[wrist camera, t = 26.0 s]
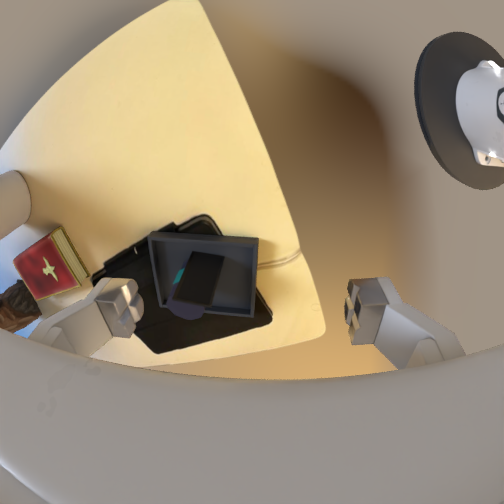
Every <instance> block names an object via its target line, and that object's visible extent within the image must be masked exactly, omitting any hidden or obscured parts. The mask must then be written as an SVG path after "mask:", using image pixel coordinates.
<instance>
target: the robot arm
mask: <svg viewBox="0 0 504 504" xmlns="http://www.w3.org/2000/svg"><path fill="white" fill-rule="evenodd" d="M456 109H457V114H458V119H459V122H460V125H461V127H462V130H463V132H464V134H465V136H466V137H467V139H468V141H469V142H470V144H471V146H472V148H473V152H474V156H475V159H476V162H477V163H478V164H481V165H488V166H498V167H504V68H499V67H498V66H497V65H496V64H495V63H494V62H493V61H489V62H488V61H485V60H482V61H481V62H480V63H479V65H478V66H477V67H476V68H474V69H471V70H468V71H466V72H465V73H464V74H463V75H462V76H461V78H460V80H459V82H458V85H457V90H456ZM485 157H486V159H485ZM347 290H348V293H349V295H348V297H347V298H346V299H345V306H344V314H345V320H346V323H347V324H348V325H349V326H350V327H349V336H350V340H351V344H352V345H363V344H374V346H376V348H377V349H378V350H379V351H380V352H381V353H382V354H384V355H385V357H386V358H387V359H388V360H389V361H390V362H391V363H392V364H393V365H394V366H395V367H396V368H397V369H398V370H395V371H388V372H381V373H373V374H366V375H356V376H347V377H335V378H317V379H287V380H286V379H283V380H282V379H280V380H277V379H274V380H272V379H269V380H268V379H267V380H266V379H237V378H219V377H207V376H196V375H186V374H177V373H170V372H162V371H156V370H150V369H143V368H138V367H132V366H127V365H122V364H117V363H112V362H107V361H103V360H99V359H94V358H90V356H91V355H92V354H93V353H94V352H96V351H97V350H98V349H99V348H100V347H102V346H103V345H104V344H105V343H107V342H108V341H109V340H110V339H111V338H113V336H114V337H122V338H130V337H131V335H132V333H133V332H134V330H135V328H136V325H135V322H137V321H139V320H140V319H141V317H142V315H143V310H144V305H143V300H142V297H141V296H140V295H139V294H138V293H137V291H138V286H137V283H136V281H134V280H133V279H119V278H102V279H101V280H100V281H99V282H98V283H97V285H96V286H95V287H94V288H93V289H92V291H91V292H90V293H89V294H88V295H87V297H86V298H85V299H84V300H80V301H78V302H76V303H74V304H72V305H70V306H69V307H67V308H65V309H63V310H61V311H59V312H58V313H56V314H54V315H52V316H50V317H49V318H47V319H45V320H43V321H41V322H40V323H39V324H38V326H37V327H36V328H35V330H34V331H33V332H32V333H31V335H30V336H29V337H28V339H27V338H24V337H22V336H19V335H16V334H14V333H11V332H9V331H6V330H4V329H1V328H0V504H504V344H502V345H498V346H495V347H492V348H489V349H486V350H483V351H480V352H476V353H473V354H469V355H466V354H465V352H464V350H463V348H462V346H461V345H460V343H459V341H458V339H457V337H456V335H455V333H453V332H452V331H450V330H449V329H447V328H446V327H444V326H443V325H441V324H439V323H438V322H436V321H435V320H433V319H432V318H430V317H428V316H427V315H425V314H424V313H422V312H420V311H419V310H417V309H416V308H414V307H412V306H410V305H409V304H408V303H403V302H402V300H401V298H400V296H399V294H398V292H397V291H396V289H395V287H394V285H393V283H392V282H391V280H390V278H389V277H377V278H366V279H350V280H349V282H348V287H347Z"/></svg>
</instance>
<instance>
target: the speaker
mask: <svg viewBox="0 0 504 504" xmlns="http://www.w3.org/2000/svg"><path fill="white" fill-rule="evenodd" d="M224 259H225V256H220V255H214V254H208V253H202V252H196V251H192V253H191V255H190V257H189V259H188V260H186V261H184V263H183V266H182V268H181V270H179V272H178V274H177V276H176V278H175V280H174V283H173V284H174V285H173V288H172V290H171V292H170V295H169V297H168V300H167V303H166V304H167V307H168V308H169V309H170V310H171V311H172V312H173V313H174V314H175V315H177V316H179V317H182V318H184V319H189V320H193V319H197V318H201V316H202V314H203V313H204V311H205V307H208V308H211V306H212V302H213V299H214V295H215V291H216V288H217V284H218V281H219V277H220V274H221V270H222V266H223V263H224Z"/></svg>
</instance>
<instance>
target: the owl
mask: <svg viewBox="0 0 504 504" xmlns="http://www.w3.org/2000/svg"><path fill="white" fill-rule="evenodd" d="M40 315H42V313H41V312H40V310H39V308H38V306H37V304H36V302H35V300H34V297H33V295H32V294H31V292H30V291H29V289H28V288H27V286H26V284H25V283H24V281H23V280H19V279H18V280H17V283H16V284H14V285H13V286H11V287H9V288H8V289H7V290H6V291H5V292H4V293H2V294H0V328H1V329H4V330H6V331H9V332H11V333H14V332H16V331H18V330H20V329H22V328H25V327H26V326H27V325H29V324H30V323H31V322H33V321H34V320H36V319H38V317H39V316H40Z"/></svg>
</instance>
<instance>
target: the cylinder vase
mask: <svg viewBox="0 0 504 504" xmlns="http://www.w3.org/2000/svg"><path fill="white" fill-rule="evenodd" d="M30 211H31V198H30V193H29V189H28V187H27V184H26V182H25V180H24V179H23V177H22V176H21V175H20V174H19V173H18V172H16V171H8V172H6V173H3V174H1V175H0V240H1V239H3V238H4V237H5V236H7V235H8V234H9V233H11V232H12V231H14V230H15V229H17V228H18V227H19V226H21V225H22V224H24V223H25V222H26V221H27V220H28V218H29V215H30Z"/></svg>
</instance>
